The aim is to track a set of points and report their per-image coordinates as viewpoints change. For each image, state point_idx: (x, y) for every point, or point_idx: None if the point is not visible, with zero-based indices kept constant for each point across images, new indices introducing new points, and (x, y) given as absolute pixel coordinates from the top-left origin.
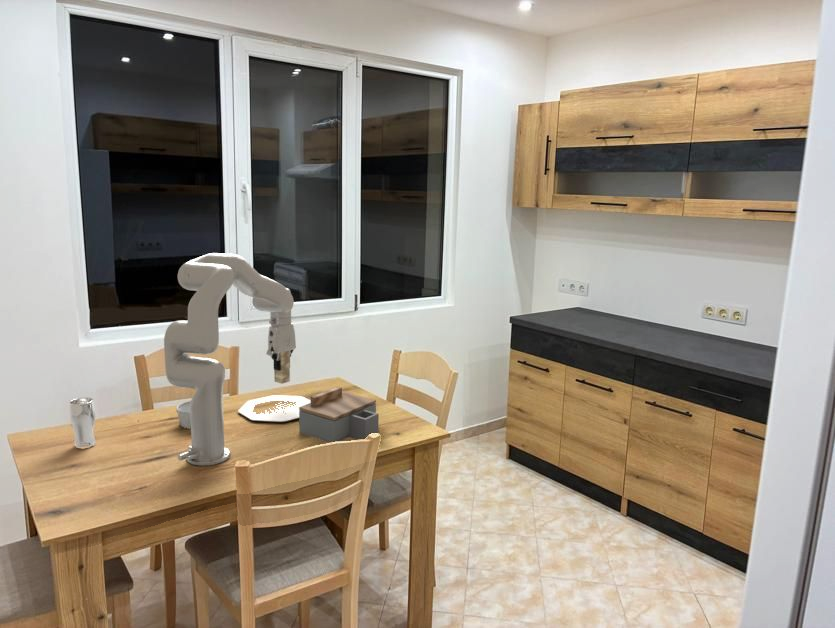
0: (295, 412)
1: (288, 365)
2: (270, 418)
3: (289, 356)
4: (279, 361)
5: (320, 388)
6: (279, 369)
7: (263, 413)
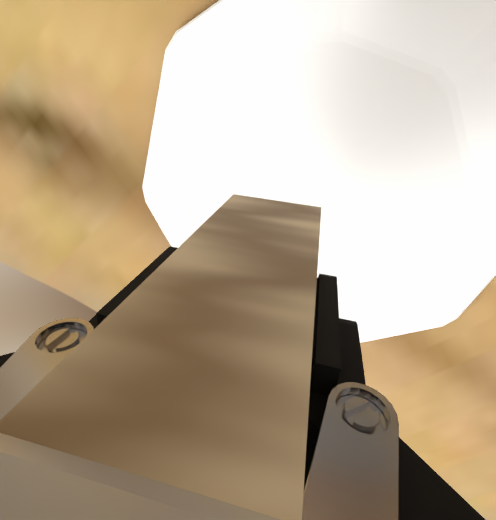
0: (314, 83)
1: (194, 253)
2: (461, 142)
3: (80, 336)
4: (339, 358)
5: (19, 202)
6: (334, 285)
7: (401, 222)
